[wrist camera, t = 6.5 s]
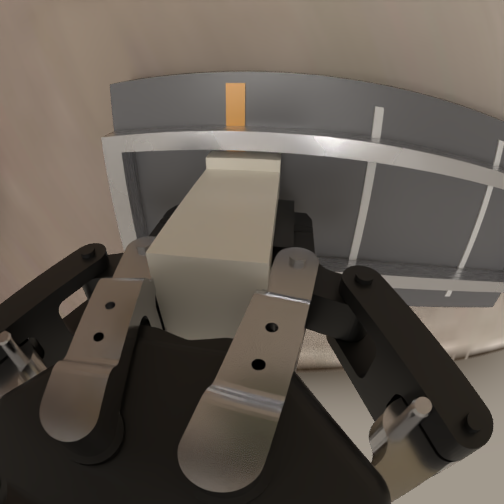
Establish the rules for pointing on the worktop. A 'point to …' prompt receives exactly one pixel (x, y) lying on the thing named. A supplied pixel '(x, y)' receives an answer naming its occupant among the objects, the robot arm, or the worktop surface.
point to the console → (329, 170)
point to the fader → (217, 245)
